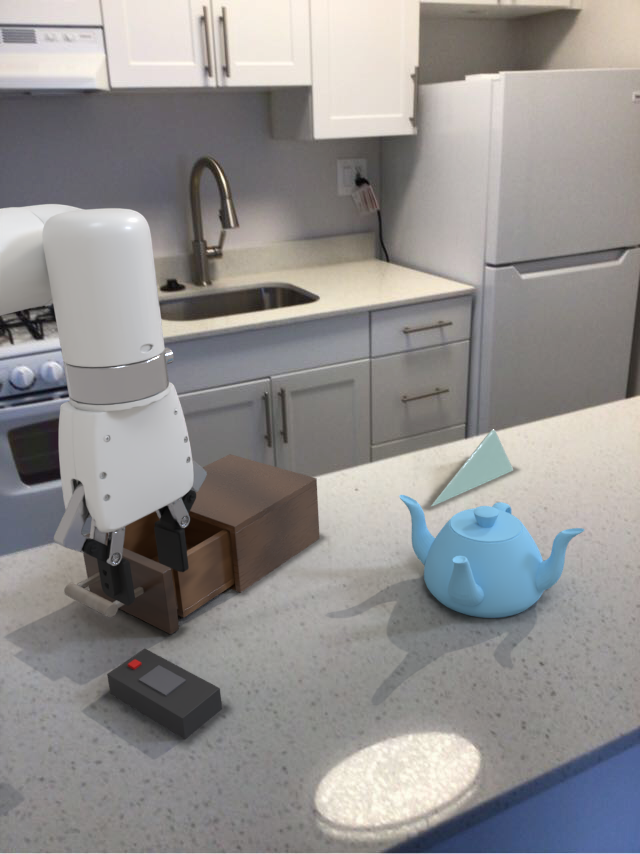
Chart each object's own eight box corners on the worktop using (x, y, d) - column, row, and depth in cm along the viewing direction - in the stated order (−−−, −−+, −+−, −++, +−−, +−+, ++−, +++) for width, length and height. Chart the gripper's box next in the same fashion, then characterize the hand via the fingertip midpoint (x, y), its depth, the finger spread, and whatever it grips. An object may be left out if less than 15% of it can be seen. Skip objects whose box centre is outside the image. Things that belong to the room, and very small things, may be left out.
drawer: (133, 660, 74) (123, 596, 71) (52, 615, 82) (40, 556, 79) (258, 575, 87) (253, 519, 85) (178, 543, 95) (172, 491, 93)
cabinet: (241, 598, 85) (234, 526, 82) (154, 561, 93) (145, 494, 90) (320, 543, 96) (316, 478, 92) (235, 514, 104) (230, 453, 101)
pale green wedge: (478, 524, 98) (528, 454, 110) (438, 494, 99) (492, 427, 111) (451, 556, 103) (502, 486, 115) (414, 527, 105) (468, 460, 117)
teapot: (511, 550, 92) (515, 473, 88) (583, 619, 78) (591, 531, 75) (398, 572, 89) (397, 493, 85) (453, 648, 75) (455, 557, 71)
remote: (186, 746, 64) (181, 715, 63) (111, 700, 70) (106, 671, 69) (223, 715, 68) (219, 685, 66) (148, 673, 73) (144, 645, 72)
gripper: (168, 346, 66) (190, 529, 73) (-13, 401, 54) (33, 617, 60) (231, 357, 62) (248, 551, 68) (49, 420, 49) (92, 651, 56)
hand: (147, 580), depth 64 cm, fingers open, 5 cm apart
